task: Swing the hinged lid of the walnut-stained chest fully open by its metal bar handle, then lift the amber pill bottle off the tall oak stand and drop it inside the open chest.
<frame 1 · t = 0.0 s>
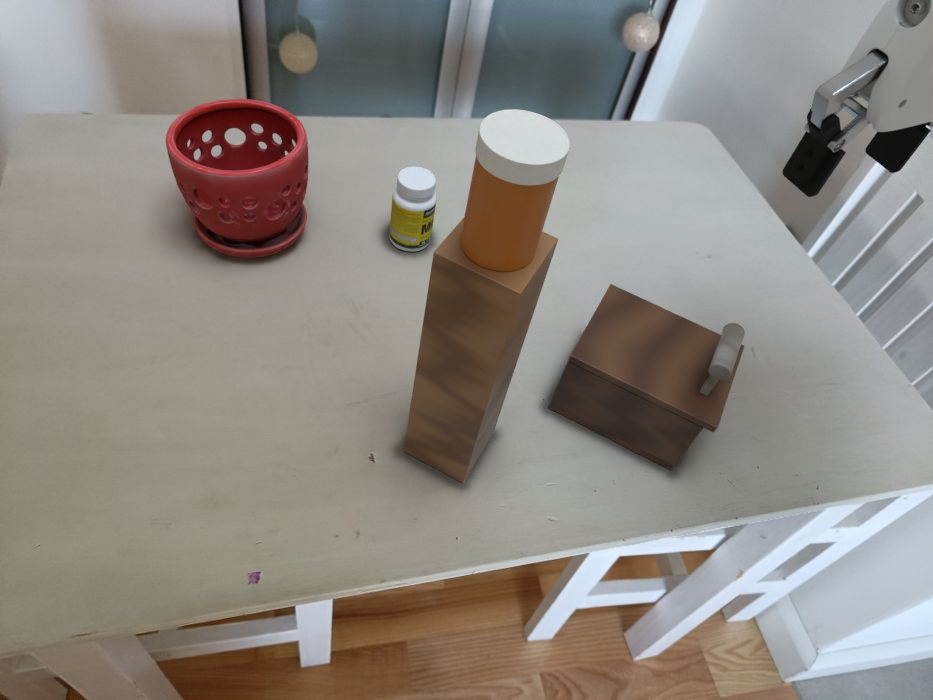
hand: (840, 173, 54), 24 cm above the table, tool pointing down, fingers open, 9 cm apart
chest: (625, 399, 68), on the table
flower pot: (249, 228, 75), on the table
lid: (667, 338, 60), point 10 cm above the table, hinge at 0.0°
supplement bottle: (409, 239, 78), on the table
stand: (449, 442, 62), on the table
pill bottle: (497, 244, 43), point 24 cm above the table, touching stand
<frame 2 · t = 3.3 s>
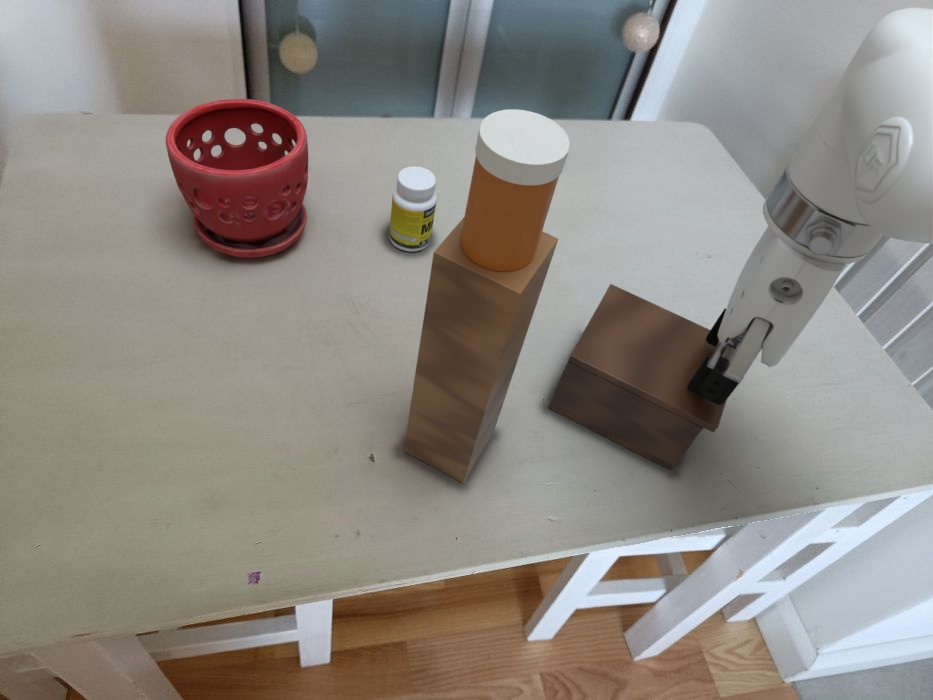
hand: (714, 369, 60), 9 cm above the table, tool pointing down, fingers closed on lid, 5 cm apart
lid: (667, 338, 60), point 10 cm above the table, hinge at 0.0°, touching gripper
everything else where it was.
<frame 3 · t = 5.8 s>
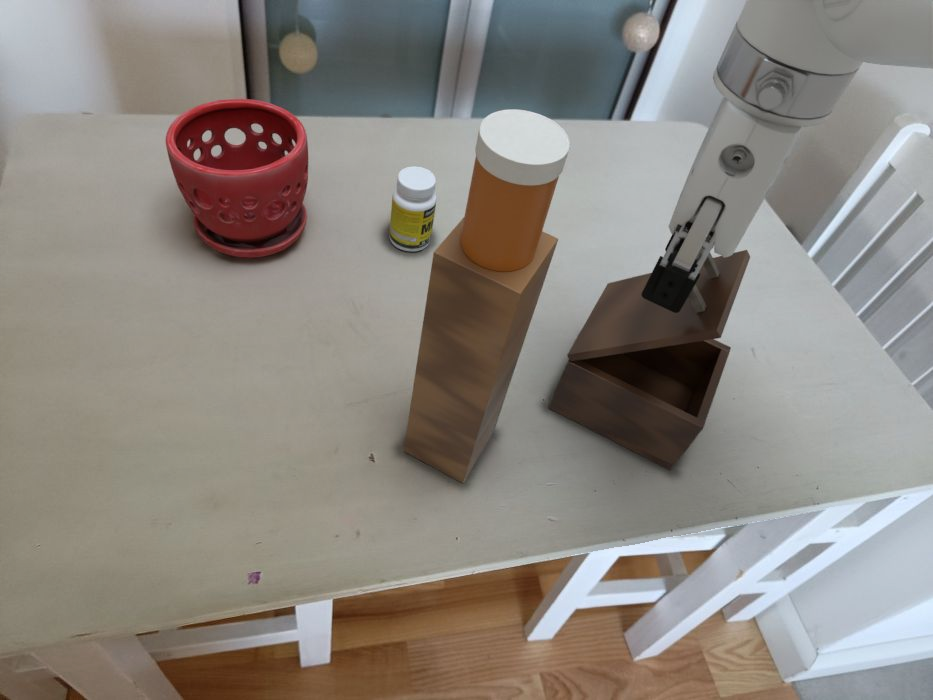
hand: (672, 278, 56), 16 cm above the table, tool pointing down, fingers closed on lid, 5 cm apart
lid: (646, 287, 58), point 14 cm above the table, hinge at 46.1°, touching gripper
everything else where it was.
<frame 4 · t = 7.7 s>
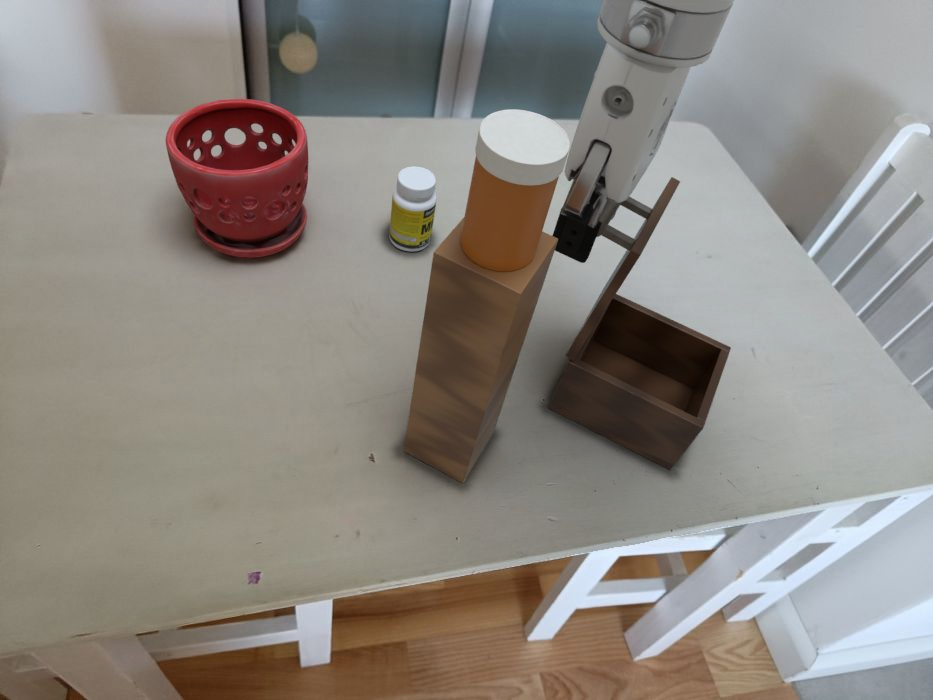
hand: (582, 230, 57), 17 cm above the table, tool pointing down, fingers closed on lid, 5 cm apart
lid: (598, 259, 58), point 15 cm above the table, hinge at 84.1°, touching gripper
everything else where it was.
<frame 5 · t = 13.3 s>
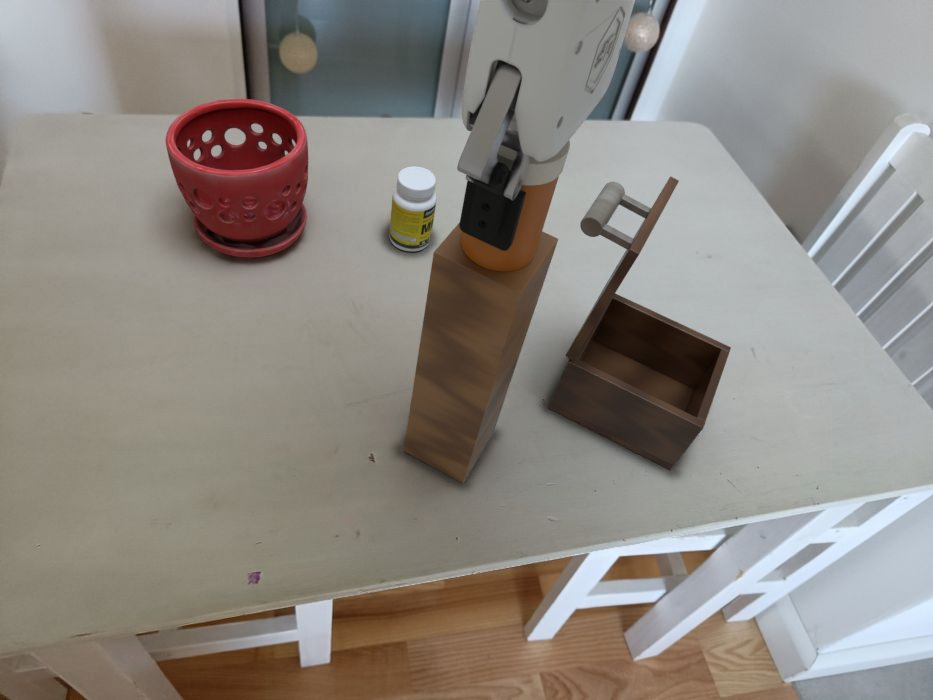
hand: (506, 210, 41), 27 cm above the table, tool pointing down, fingers closed on pill bottle, 4 cm apart
lid: (598, 259, 58), point 15 cm above the table, hinge at 84.6°
pill bottle: (497, 244, 43), point 24 cm above the table, touching gripper, stand
everything else where it was.
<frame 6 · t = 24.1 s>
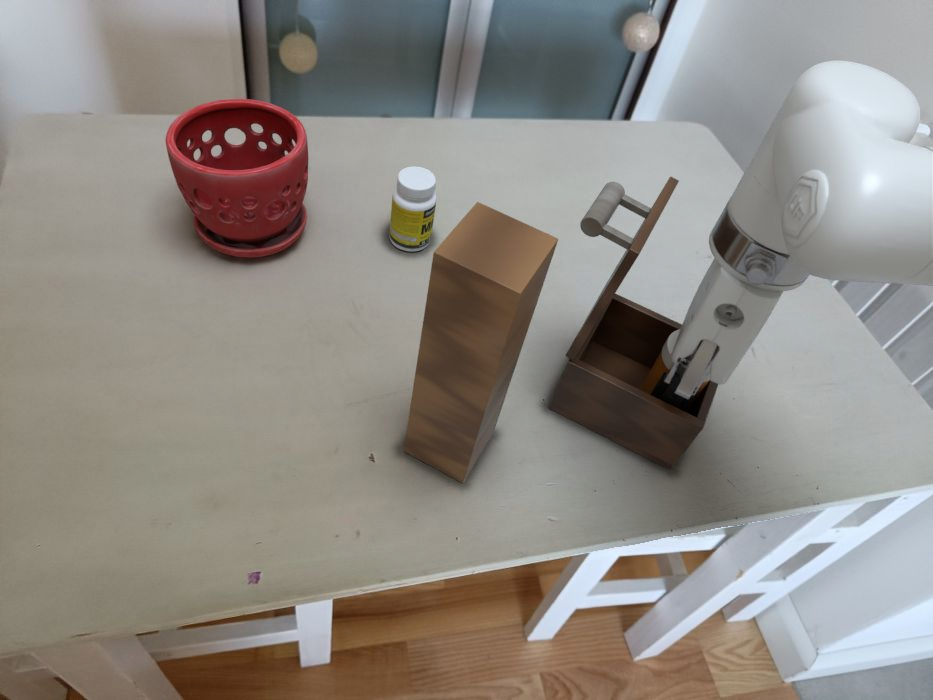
hand: (673, 385, 63), 5 cm above the table, tool pointing down, fingers closed on pill bottle, 4 cm apart
pill bottle: (661, 402, 66), point 2 cm above the table, touching gripper
everything else where it was.
when the fingers open (7 cm above the table, at t = 38.1 s): pill bottle drops 4 cm, resting on chest.
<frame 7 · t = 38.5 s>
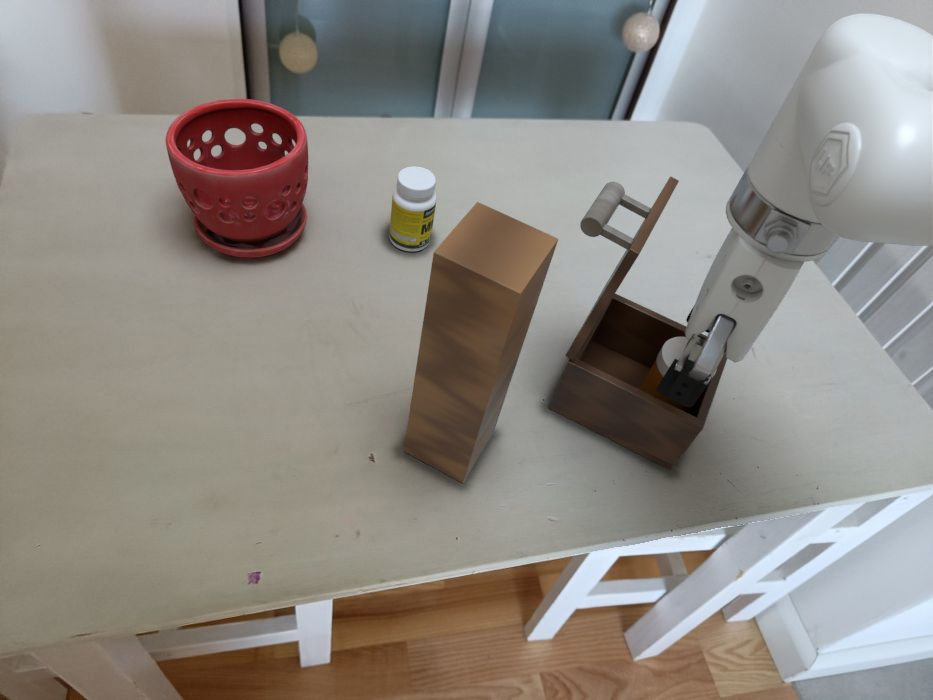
hand: (688, 360, 61), 8 cm above the table, tool pointing down, fingers open, 8 cm apart
pill bottle: (656, 408, 67), point 1 cm above the table, touching chest
everything else where it was.
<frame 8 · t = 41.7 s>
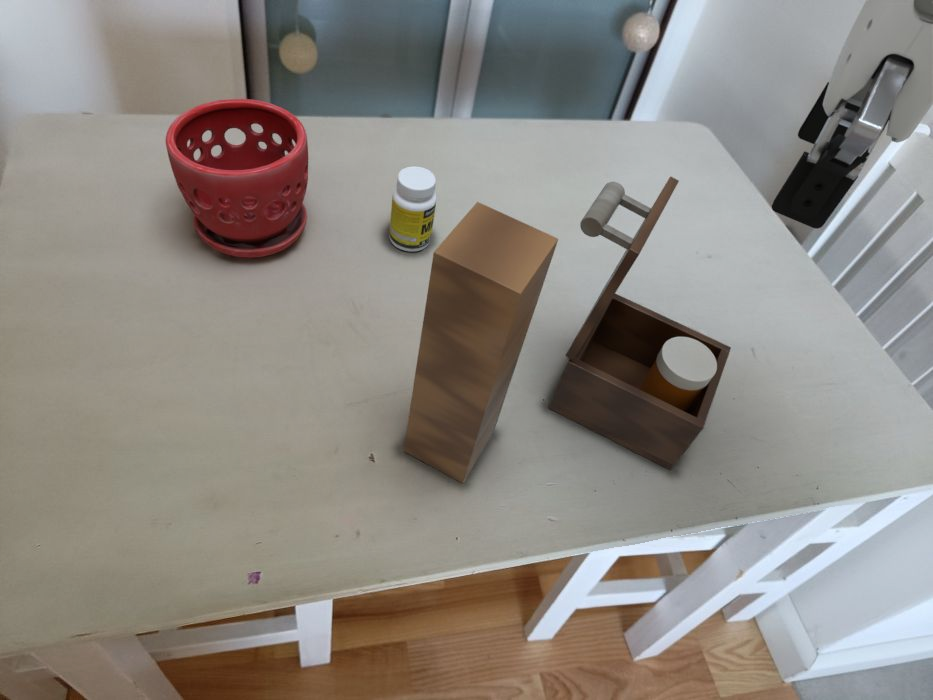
hand: (807, 178, 45), 28 cm above the table, tool pointing down, fingers open, 9 cm apart
nothing on the table moved.
at the end: lid at +85° (first picture: +0°); pill bottle inside the target area in the chest (3.0 cm from its centre), point 0.8 cm above the chest's base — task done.
